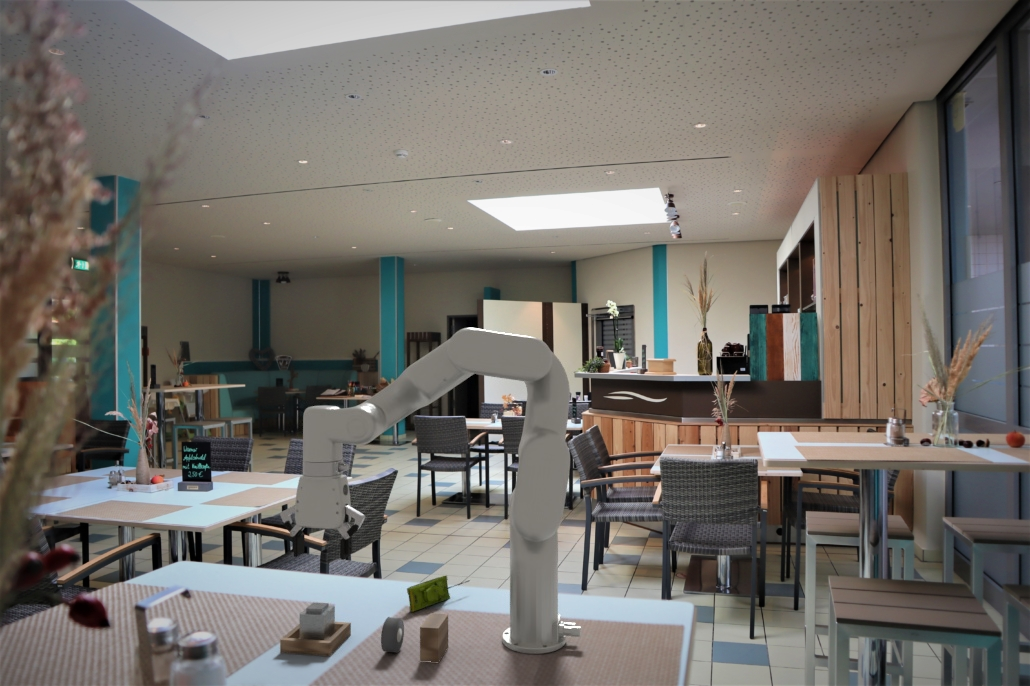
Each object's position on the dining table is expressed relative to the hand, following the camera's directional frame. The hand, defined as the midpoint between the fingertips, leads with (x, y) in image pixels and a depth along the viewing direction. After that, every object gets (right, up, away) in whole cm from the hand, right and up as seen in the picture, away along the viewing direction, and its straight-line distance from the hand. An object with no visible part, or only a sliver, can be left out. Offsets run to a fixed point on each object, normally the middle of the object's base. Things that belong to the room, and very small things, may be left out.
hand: (321, 556), depth 137 cm
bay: (-1, -17, 0) cm, 17 cm away
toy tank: (+22, -18, +23) cm, 36 cm away
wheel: (+15, -17, -3) cm, 23 cm away
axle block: (+23, -17, -5) cm, 29 cm away
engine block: (-1, -17, 0) cm, 17 cm away
